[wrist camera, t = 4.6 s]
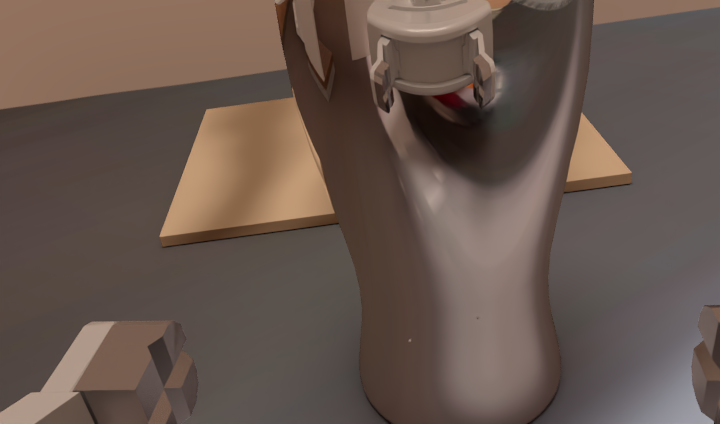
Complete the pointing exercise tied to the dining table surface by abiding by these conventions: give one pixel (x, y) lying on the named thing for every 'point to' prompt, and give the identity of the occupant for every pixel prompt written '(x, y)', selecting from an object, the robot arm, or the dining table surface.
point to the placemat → (296, 175)
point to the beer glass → (446, 187)
